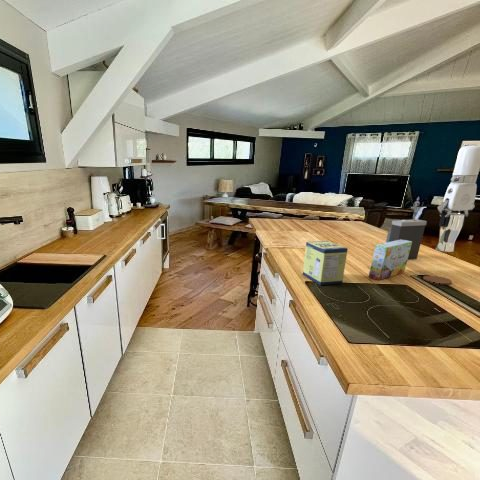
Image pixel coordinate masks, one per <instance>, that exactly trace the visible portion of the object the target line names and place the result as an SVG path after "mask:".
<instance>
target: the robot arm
mask: <svg viewBox="0 0 480 480" xmlns="http://www.w3.org/2000/svg"><path fill="white" fill-rule="evenodd" d="M479 172H480V144H473V145H472V144H471V145H464V146H462V147H460V148H459V151H458V153H457V158H456V161H455V164H454V168H453V172H452V176H451V178H450V184H449V185H448V186H447V189H446V192H445V194H444V196H443V201H442V203H441V204H439V205H437V210H438V213H439V217H440V219H439V223H438V226H439V227H440V226H441V227H447V225H448V221H449V217H448V216H449V215H450V213H453V211H454V212H458V213H460V214H465V215H464V220H463V225H462V227H464V226H465V224H466V223H465V222H466V218H467V217H468V216H469V214H470V213H471V212H472V211H473V209H474V208H475V207H476V205H475V201H476V197H477V188H478V186H477V179H478V175H479Z"/></svg>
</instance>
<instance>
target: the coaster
mask: <svg viewBox="0 0 480 480" xmlns="http://www.w3.org/2000/svg"><path fill="white" fill-rule="evenodd" d="M422 280H423V281H425V282H427V283H431V284H436V285H444V286H445V285H451V284H452V283H453V281H452V279H450V278H447V277H444V276H439V275H424V276H423V277H422ZM429 281H430V282H429ZM433 282H435V283H433ZM439 283H440V284H439Z"/></svg>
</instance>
